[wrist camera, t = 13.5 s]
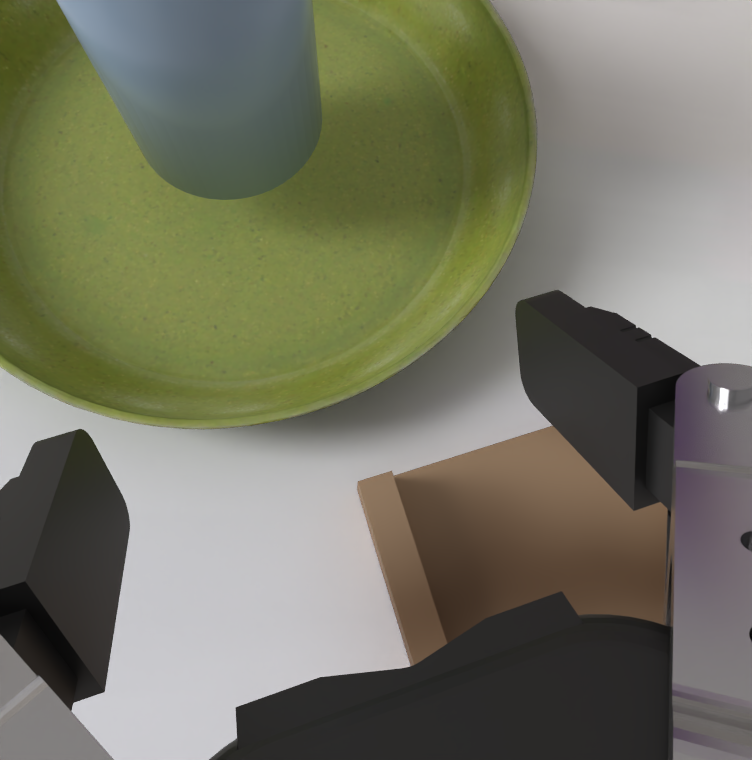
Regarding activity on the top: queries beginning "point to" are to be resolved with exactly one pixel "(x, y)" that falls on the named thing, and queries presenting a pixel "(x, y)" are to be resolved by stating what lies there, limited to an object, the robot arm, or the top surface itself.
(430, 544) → the holder
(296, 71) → the pale blue smooth-sided part
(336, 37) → the saucer
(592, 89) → the top surface
